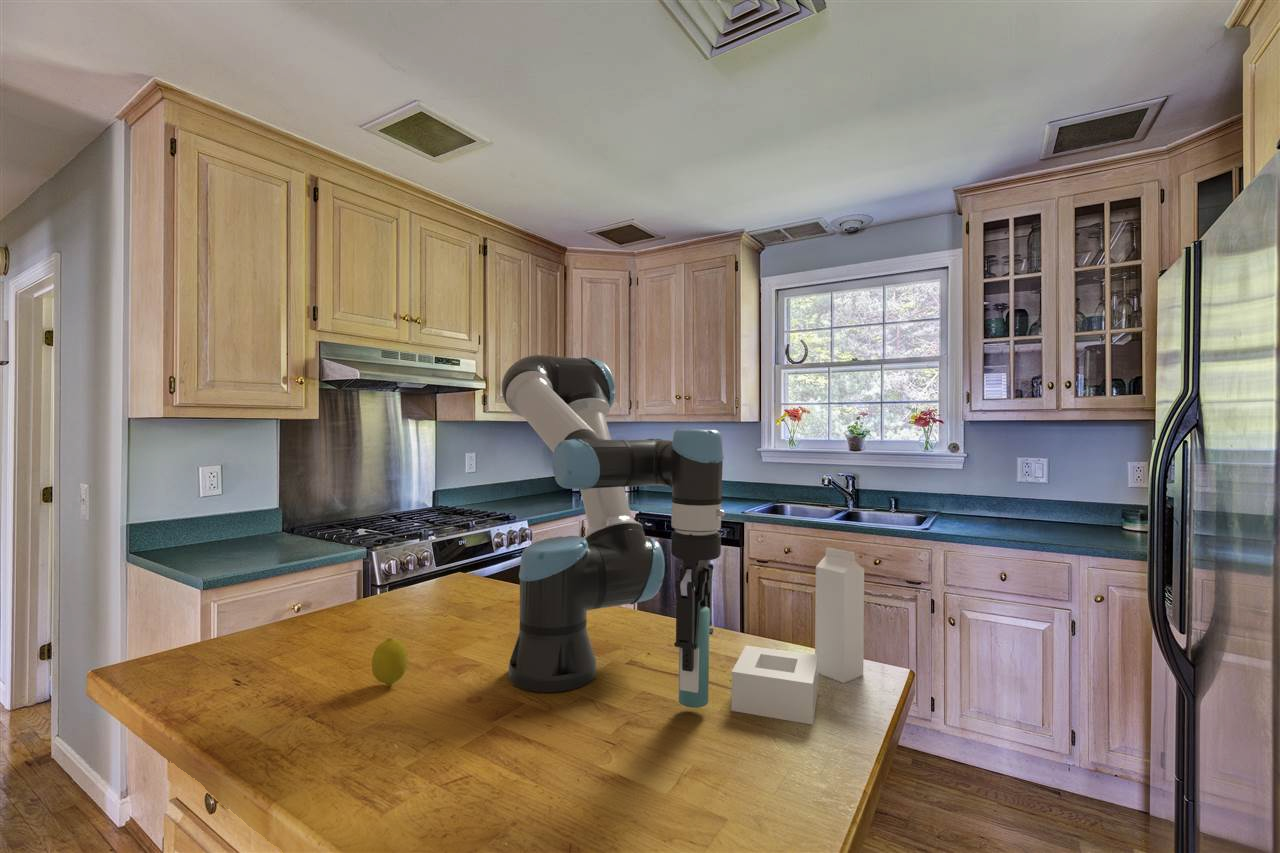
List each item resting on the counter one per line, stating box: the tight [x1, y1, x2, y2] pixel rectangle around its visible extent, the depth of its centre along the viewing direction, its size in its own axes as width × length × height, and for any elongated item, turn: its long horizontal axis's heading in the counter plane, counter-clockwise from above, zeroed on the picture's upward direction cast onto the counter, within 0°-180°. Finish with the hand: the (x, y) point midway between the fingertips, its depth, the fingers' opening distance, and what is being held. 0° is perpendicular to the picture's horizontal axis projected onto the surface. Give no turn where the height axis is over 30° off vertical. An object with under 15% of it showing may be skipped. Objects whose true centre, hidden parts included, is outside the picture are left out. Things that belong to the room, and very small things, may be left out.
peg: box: [678, 606, 711, 709], centre depth 92 cm, size 4×4×14 cm
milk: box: [814, 547, 865, 684], centre depth 107 cm, size 6×6×22 cm
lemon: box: [371, 637, 409, 687], centre depth 100 cm, size 6×6×8 cm
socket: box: [730, 645, 819, 725], centre depth 96 cm, size 12×12×6 cm
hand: (693, 683), depth 92 cm, fingers closed on peg, 4 cm apart
